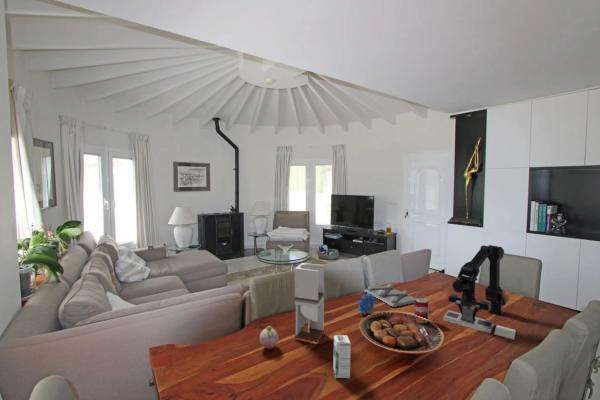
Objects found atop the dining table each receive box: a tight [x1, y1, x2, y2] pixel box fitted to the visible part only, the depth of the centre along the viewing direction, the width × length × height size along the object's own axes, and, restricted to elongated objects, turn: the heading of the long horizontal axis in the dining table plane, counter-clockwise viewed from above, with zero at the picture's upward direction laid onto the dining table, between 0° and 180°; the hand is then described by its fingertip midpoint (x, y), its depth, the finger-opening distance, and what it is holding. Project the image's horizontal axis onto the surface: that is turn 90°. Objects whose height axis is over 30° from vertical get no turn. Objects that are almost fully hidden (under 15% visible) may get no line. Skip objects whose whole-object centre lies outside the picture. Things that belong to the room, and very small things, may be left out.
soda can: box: [413, 297, 430, 320], centre depth 157 cm, size 7×7×12 cm
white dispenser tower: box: [294, 262, 325, 342], centre depth 140 cm, size 11×11×35 cm
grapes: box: [357, 293, 377, 314], centre depth 167 cm, size 12×7×12 cm, turn 109°
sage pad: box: [493, 325, 516, 341], centre depth 146 cm, size 11×8×1 cm
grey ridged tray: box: [363, 283, 417, 308], centre depth 192 cm, size 30×22×7 cm
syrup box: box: [332, 334, 352, 379], centre depth 113 cm, size 6×6×14 cm
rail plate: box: [442, 309, 494, 334], centre depth 156 cm, size 11×22×2 cm, turn 50°
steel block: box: [462, 306, 475, 323], centre depth 156 cm, size 5×5×8 cm
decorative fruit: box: [259, 325, 279, 350], centre depth 131 cm, size 9×8×10 cm
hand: (468, 317), depth 156 cm, fingers closed on steel block, 5 cm apart
